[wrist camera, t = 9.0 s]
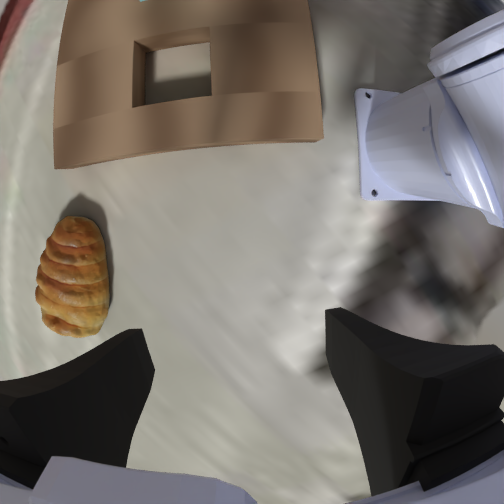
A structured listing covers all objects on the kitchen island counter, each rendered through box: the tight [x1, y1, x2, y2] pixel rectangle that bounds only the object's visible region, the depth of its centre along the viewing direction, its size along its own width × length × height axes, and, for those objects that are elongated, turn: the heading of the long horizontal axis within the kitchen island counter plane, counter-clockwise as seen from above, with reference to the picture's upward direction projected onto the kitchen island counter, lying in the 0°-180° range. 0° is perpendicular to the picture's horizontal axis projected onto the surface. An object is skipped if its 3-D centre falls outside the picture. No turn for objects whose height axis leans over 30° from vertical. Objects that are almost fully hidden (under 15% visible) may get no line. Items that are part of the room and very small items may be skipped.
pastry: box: [35, 216, 110, 338], centre depth 20 cm, size 9×7×4 cm
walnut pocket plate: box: [53, 0, 324, 169], centre depth 15 cm, size 18×20×2 cm
